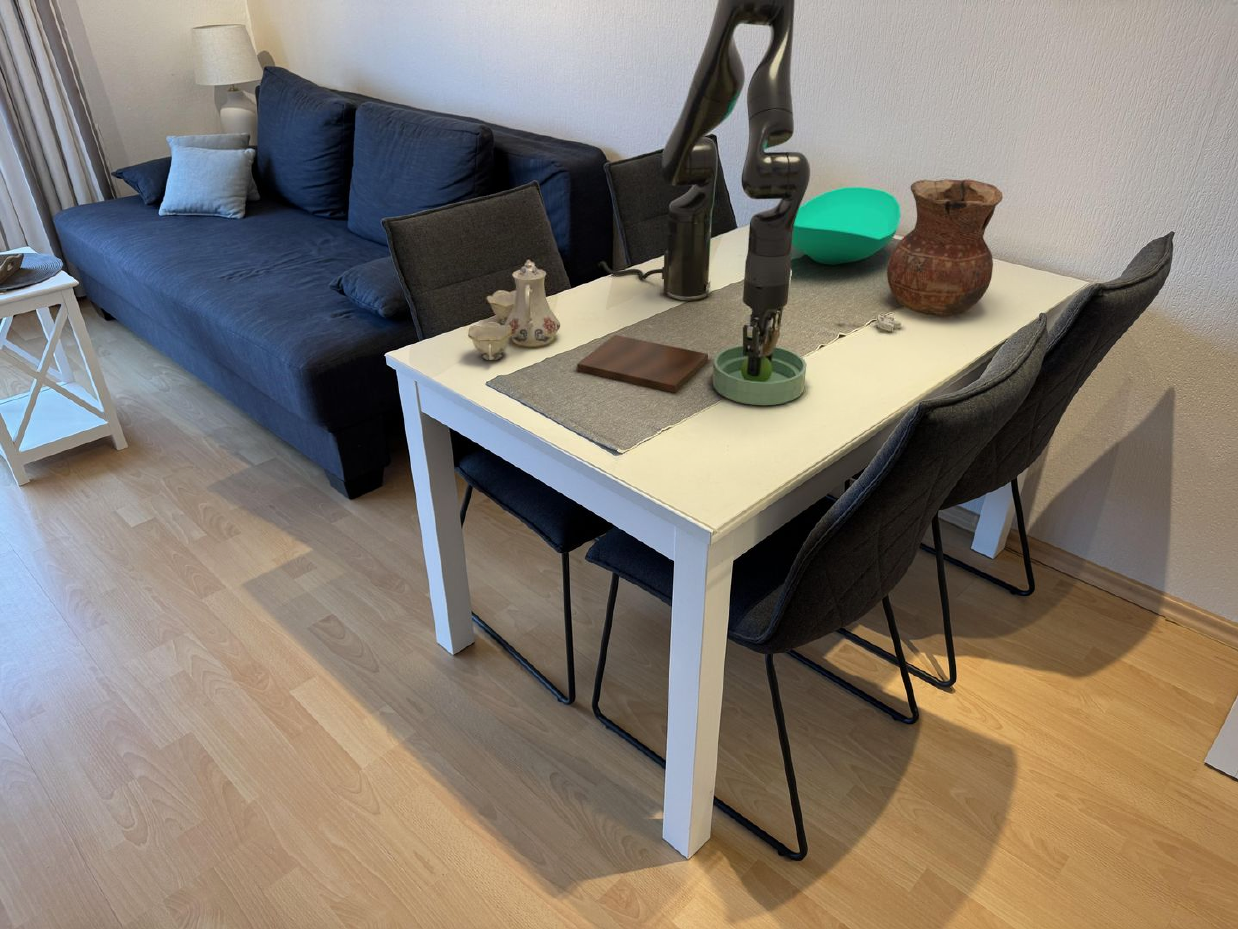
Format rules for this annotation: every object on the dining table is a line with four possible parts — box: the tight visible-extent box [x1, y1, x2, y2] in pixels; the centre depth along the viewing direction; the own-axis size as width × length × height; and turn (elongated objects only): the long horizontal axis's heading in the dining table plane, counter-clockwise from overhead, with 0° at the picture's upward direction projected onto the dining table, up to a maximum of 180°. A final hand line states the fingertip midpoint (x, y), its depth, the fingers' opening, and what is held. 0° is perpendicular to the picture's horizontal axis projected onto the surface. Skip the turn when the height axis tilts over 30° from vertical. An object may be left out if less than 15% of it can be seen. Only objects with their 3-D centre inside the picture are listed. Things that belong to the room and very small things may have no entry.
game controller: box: [842, 313, 902, 332], centre depth 178 cm, size 6×12×3 cm, turn 100°
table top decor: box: [791, 186, 902, 266], centre depth 212 cm, size 40×28×13 cm
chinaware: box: [467, 259, 561, 361], centre depth 172 cm, size 28×17×17 cm, turn 1°
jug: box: [886, 178, 1004, 317], centre depth 183 cm, size 22×21×25 cm
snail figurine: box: [741, 323, 782, 382], centre depth 154 cm, size 5×6×12 cm
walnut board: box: [576, 334, 709, 394], centre depth 164 cm, size 20×15×2 cm
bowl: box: [711, 344, 808, 406], centre depth 156 cm, size 16×16×4 cm
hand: (759, 367), depth 155 cm, fingers closed on snail figurine, 5 cm apart
